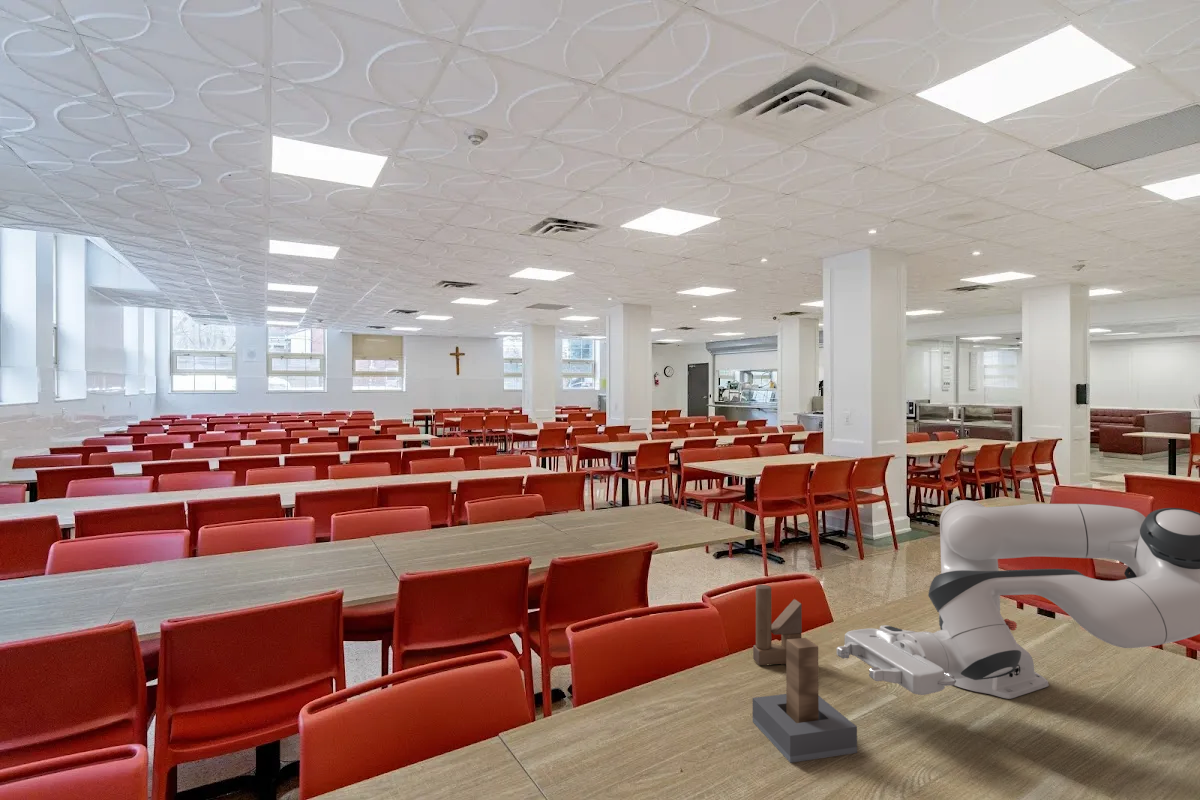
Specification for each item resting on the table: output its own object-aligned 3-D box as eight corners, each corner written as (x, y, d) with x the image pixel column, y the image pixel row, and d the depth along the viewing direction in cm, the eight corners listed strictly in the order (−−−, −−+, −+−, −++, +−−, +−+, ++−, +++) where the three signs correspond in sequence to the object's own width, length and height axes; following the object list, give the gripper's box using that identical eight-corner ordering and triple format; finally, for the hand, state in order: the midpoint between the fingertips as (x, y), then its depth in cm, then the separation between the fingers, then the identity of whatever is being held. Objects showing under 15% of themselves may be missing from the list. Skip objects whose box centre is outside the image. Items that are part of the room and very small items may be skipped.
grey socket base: (812, 713, 111) (812, 690, 111) (857, 752, 98) (856, 726, 98) (752, 721, 108) (752, 697, 108) (790, 762, 95) (790, 735, 95)
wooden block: (802, 664, 133) (802, 587, 133) (759, 666, 131) (759, 589, 132) (794, 657, 137) (794, 582, 137) (752, 660, 135) (752, 584, 135)
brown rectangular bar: (805, 723, 105) (805, 637, 106) (818, 735, 101) (818, 646, 102) (786, 726, 104) (786, 639, 105) (798, 738, 101) (798, 648, 101)
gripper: (962, 700, 99) (894, 708, 96) (880, 651, 119) (822, 657, 116) (962, 664, 99) (894, 671, 96) (880, 621, 119) (822, 626, 116)
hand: (854, 663), depth 106 cm, fingers open, 8 cm apart
